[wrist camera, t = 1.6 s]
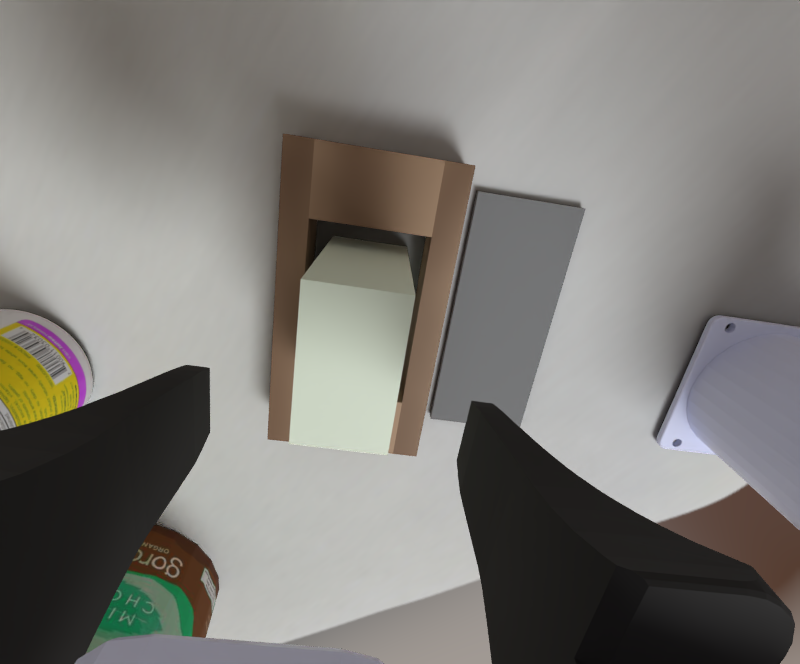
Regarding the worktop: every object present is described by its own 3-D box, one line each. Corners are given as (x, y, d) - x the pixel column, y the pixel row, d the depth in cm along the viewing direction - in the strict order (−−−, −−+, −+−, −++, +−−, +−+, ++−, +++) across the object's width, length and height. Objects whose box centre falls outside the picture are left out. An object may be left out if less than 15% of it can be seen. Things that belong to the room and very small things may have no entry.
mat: (581, 207, 20) (585, 208, 20) (517, 425, 24) (519, 429, 24) (476, 190, 20) (478, 191, 19) (430, 414, 24) (430, 418, 24)
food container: (249, 523, 27) (175, 715, 18) (241, 592, 29) (171, 796, 20) (38, 492, 26) (-161, 681, 16) (47, 567, 28) (-125, 771, 19)
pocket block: (465, 164, 19) (475, 165, 17) (413, 428, 24) (416, 456, 22) (296, 136, 19) (282, 133, 16) (279, 411, 24) (267, 439, 22)
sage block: (406, 246, 21) (415, 295, 13) (389, 359, 23) (387, 455, 15) (333, 235, 20) (300, 279, 13) (322, 350, 23) (288, 444, 15)
